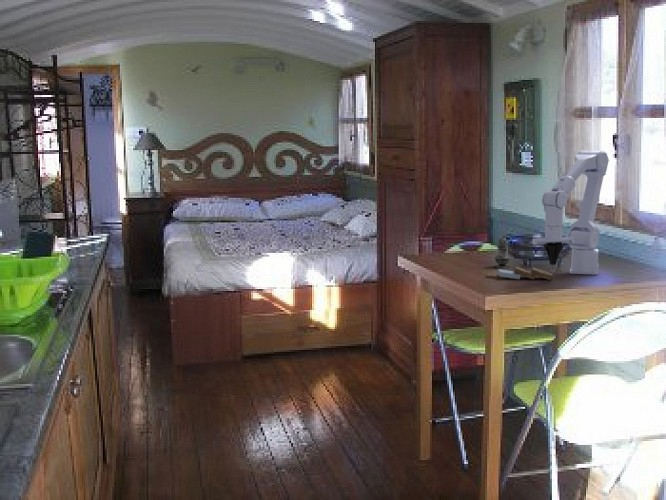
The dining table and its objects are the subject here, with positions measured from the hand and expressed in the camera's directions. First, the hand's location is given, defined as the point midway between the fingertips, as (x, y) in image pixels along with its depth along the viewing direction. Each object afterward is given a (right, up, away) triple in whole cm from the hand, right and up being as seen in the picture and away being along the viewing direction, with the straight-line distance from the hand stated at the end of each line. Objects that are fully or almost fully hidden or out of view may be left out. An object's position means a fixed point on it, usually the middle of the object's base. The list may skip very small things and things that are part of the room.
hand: (552, 264), depth 268 cm
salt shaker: (-12, -2, +26) cm, 29 cm away
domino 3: (-6, -4, +3) cm, 8 cm away
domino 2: (-11, -4, +4) cm, 12 cm away
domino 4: (0, -4, +1) cm, 5 cm away
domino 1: (-15, -5, +6) cm, 16 cm away
